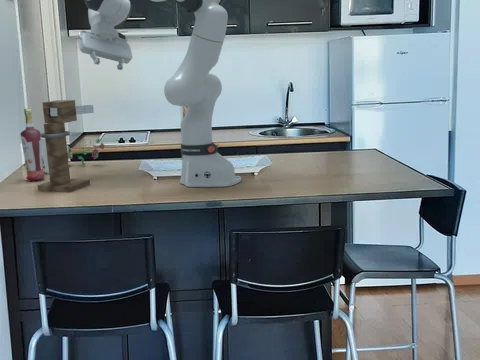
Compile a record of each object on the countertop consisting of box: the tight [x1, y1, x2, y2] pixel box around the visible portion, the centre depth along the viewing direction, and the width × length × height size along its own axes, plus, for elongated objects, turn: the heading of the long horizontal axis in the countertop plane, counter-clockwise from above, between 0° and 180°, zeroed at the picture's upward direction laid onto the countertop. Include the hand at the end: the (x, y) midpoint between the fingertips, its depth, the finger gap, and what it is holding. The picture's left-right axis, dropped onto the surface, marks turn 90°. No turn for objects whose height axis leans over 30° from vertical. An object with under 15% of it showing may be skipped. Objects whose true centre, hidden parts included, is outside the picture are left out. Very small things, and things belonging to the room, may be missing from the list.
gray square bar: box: [50, 104, 95, 116], centre depth 225 cm, size 3×22×3 cm, turn 159°
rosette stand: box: [37, 99, 91, 193], centre depth 218 cm, size 14×13×31 cm
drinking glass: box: [41, 137, 49, 175], centre depth 250 cm, size 7×7×15 cm
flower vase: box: [42, 138, 105, 168], centre depth 264 cm, size 12×12×35 cm
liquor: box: [20, 108, 45, 182], centre depth 235 cm, size 7×7×28 cm
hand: (109, 66), depth 223 cm, fingers open, 8 cm apart
